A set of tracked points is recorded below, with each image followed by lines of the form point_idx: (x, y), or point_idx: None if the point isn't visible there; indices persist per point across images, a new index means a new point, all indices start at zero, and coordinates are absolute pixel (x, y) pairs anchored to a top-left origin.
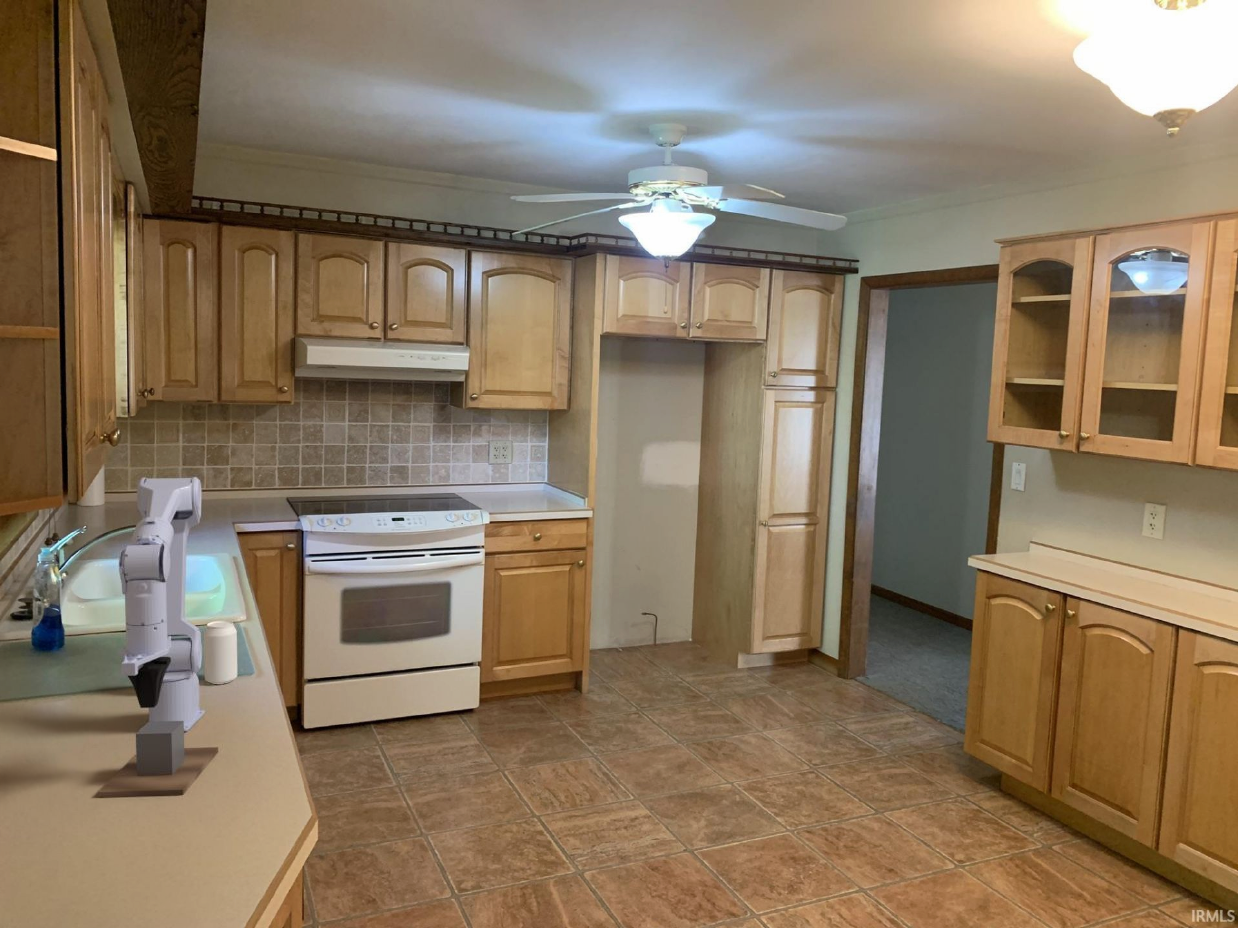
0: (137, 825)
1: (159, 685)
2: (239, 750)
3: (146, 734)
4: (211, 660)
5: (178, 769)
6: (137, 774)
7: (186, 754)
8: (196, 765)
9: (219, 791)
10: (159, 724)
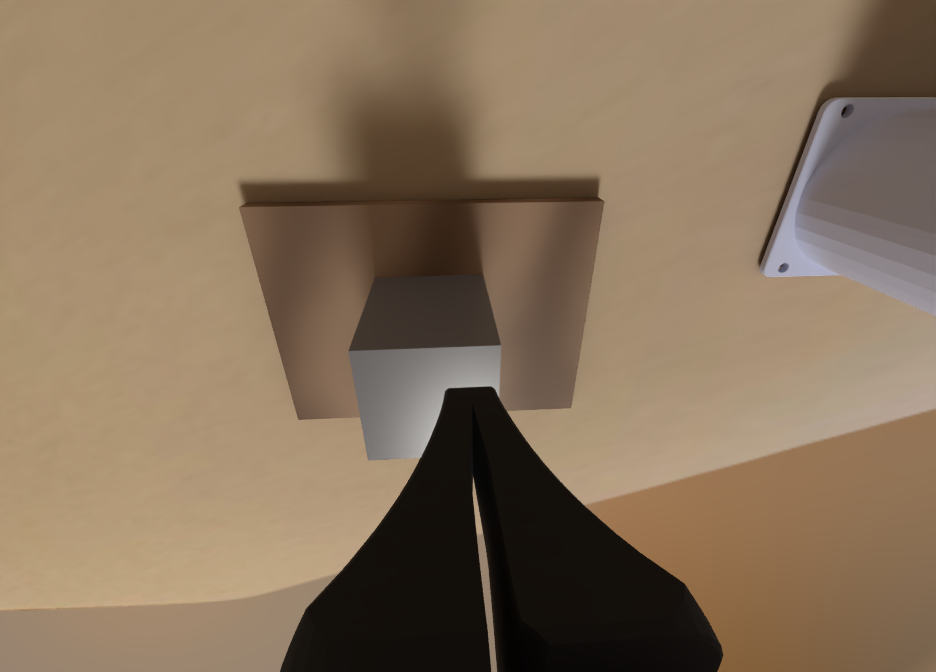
0: (119, 377)
1: (487, 555)
2: (567, 437)
3: (355, 385)
4: None
5: None
6: (375, 280)
7: (531, 351)
8: None
9: (330, 467)
10: None
